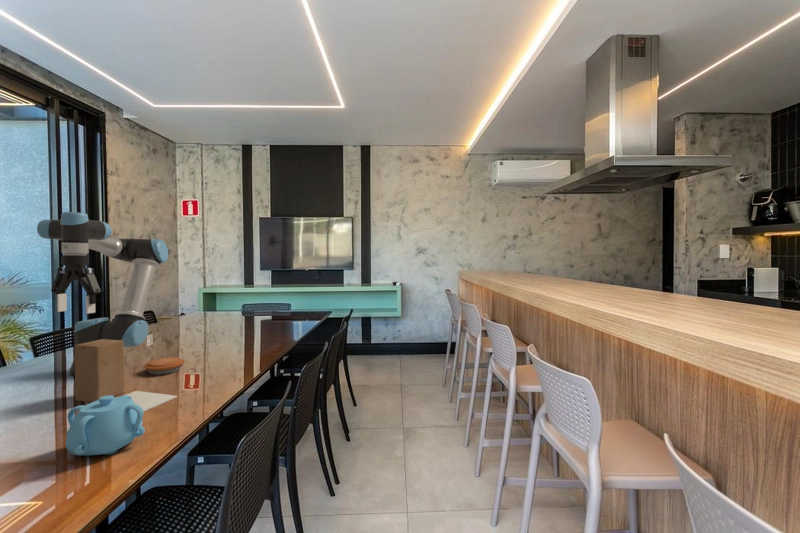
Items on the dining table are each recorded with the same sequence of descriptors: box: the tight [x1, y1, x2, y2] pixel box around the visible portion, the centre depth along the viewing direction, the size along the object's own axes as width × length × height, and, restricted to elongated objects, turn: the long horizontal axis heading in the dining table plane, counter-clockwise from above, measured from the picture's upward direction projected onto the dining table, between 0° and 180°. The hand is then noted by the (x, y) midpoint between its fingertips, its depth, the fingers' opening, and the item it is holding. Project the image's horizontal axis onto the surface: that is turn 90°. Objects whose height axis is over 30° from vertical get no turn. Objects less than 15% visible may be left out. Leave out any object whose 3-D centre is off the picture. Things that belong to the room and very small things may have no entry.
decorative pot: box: [65, 394, 146, 456], centre depth 100 cm, size 16×16×14 cm
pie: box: [143, 356, 186, 376], centre depth 165 cm, size 15×16×5 cm
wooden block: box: [74, 339, 125, 403], centre depth 134 cm, size 10×10×20 cm
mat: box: [125, 390, 178, 412], centre depth 130 cm, size 15×19×1 cm
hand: (76, 312), depth 136 cm, fingers open, 13 cm apart
